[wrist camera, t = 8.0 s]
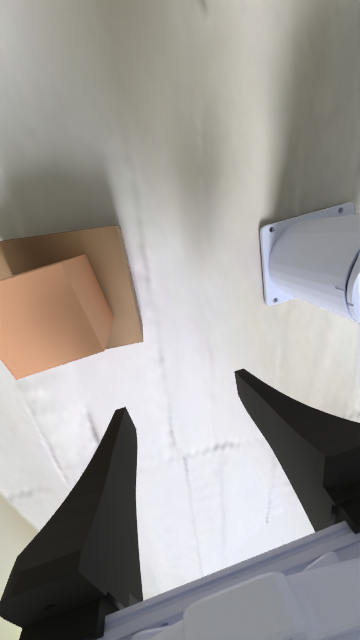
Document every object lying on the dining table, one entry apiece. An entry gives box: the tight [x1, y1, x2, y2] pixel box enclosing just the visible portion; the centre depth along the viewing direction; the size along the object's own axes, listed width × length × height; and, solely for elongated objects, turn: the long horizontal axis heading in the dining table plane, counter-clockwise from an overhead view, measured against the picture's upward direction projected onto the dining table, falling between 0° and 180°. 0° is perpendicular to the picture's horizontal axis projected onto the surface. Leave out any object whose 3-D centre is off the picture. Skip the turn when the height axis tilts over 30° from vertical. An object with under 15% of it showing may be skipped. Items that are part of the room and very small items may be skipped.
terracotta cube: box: [0, 254, 114, 380], centre depth 13 cm, size 5×5×5 cm
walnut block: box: [0, 225, 143, 349], centre depth 17 cm, size 9×9×4 cm
